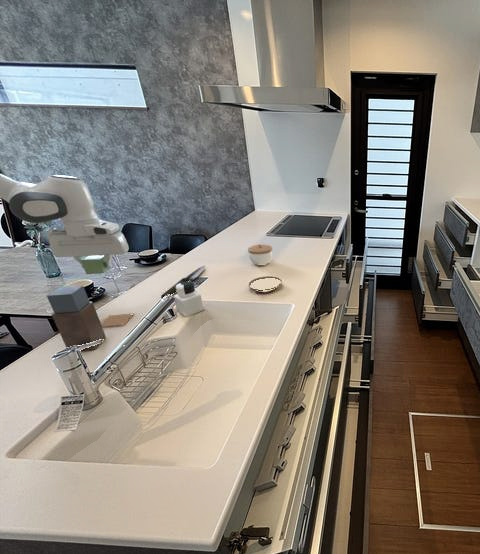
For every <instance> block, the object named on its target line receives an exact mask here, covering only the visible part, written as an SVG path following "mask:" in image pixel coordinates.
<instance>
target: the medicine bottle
mask: <svg viewBox="0 0 480 554" xmlns="http://www.w3.org/2000/svg"><path fill="white" fill-rule="evenodd" d="M176 290H177V292H176V294H174V295H173V299H174V298H176V300H177V303H176V304H175V307H176V311H177V312H178V313H179V312H180V313H179V314H181V315H182V316H184V317H185V318H186V317H189V316H192V315H195V314H197V313H200V312H202V311H204V310H205V308H204V304H203V298H202V295H201V294H200V293H199V292H196V289H195V284H194V282H192V281H189V282H181V283H179V284H177V285H176Z"/></svg>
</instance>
